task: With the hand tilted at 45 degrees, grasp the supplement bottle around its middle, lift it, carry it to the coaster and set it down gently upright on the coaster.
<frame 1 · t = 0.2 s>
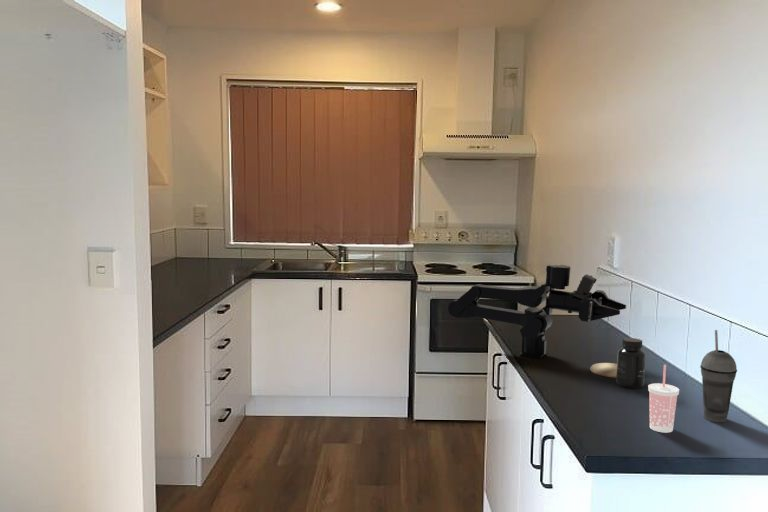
hand: (622, 309, 178), 17 cm above the worktop, tool horizontal, fingers open, 9 cm apart
supplement bottle: (629, 385, 165), on the worktop
coaster: (612, 371, 176), on the worktop
beverage cup: (714, 419, 141), on the worktop
beverage cup 2: (661, 429, 136), on the worktop
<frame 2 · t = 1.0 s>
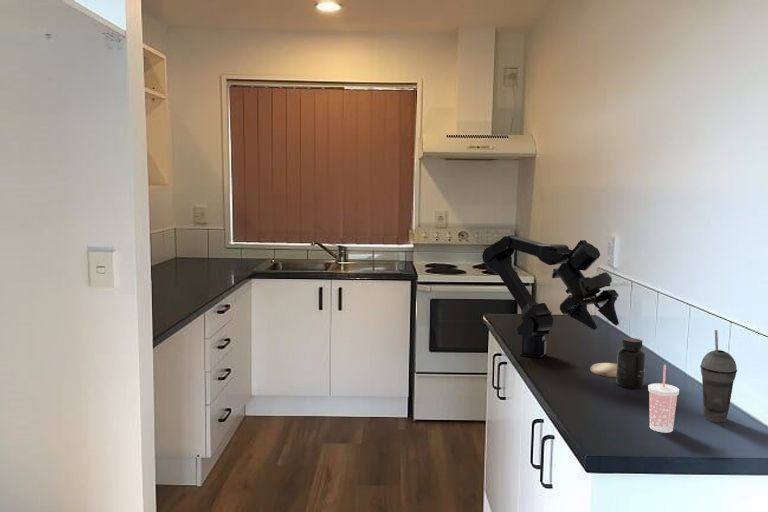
hand: (606, 326, 170), 14 cm above the worktop, tool tilted 45°, fingers open, 9 cm apart
nothing on the worktop moved.
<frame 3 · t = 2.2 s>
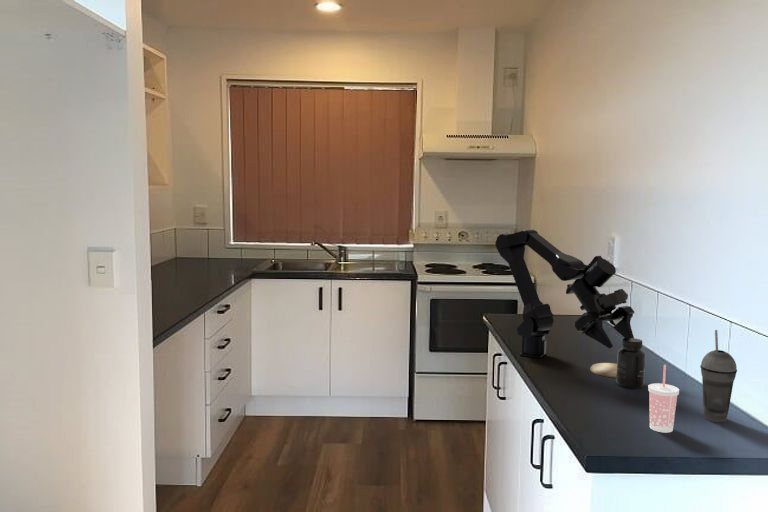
hand: (622, 345, 166), 10 cm above the worktop, tool tilted 45°, fingers open, 9 cm apart
nothing on the worktop moved.
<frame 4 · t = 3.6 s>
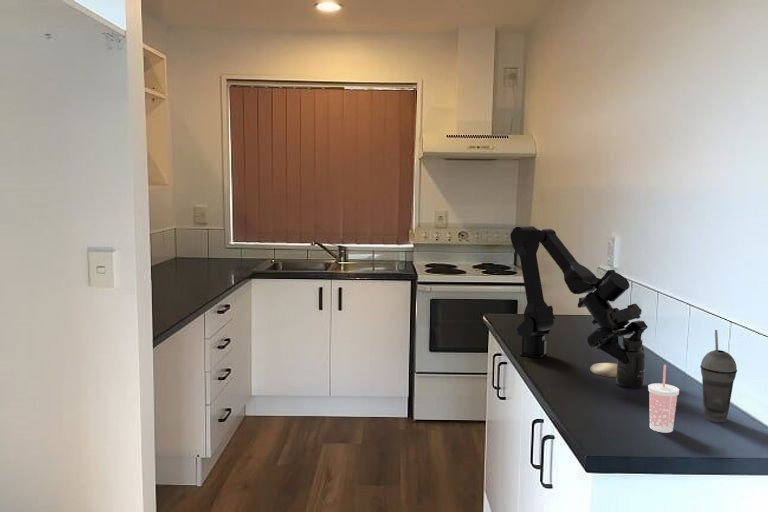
hand: (636, 361, 163), 7 cm above the worktop, tool tilted 45°, fingers closed on supplement bottle, 7 cm apart
supplement bottle: (629, 385, 165), on the worktop, touching gripper
everything else where it was.
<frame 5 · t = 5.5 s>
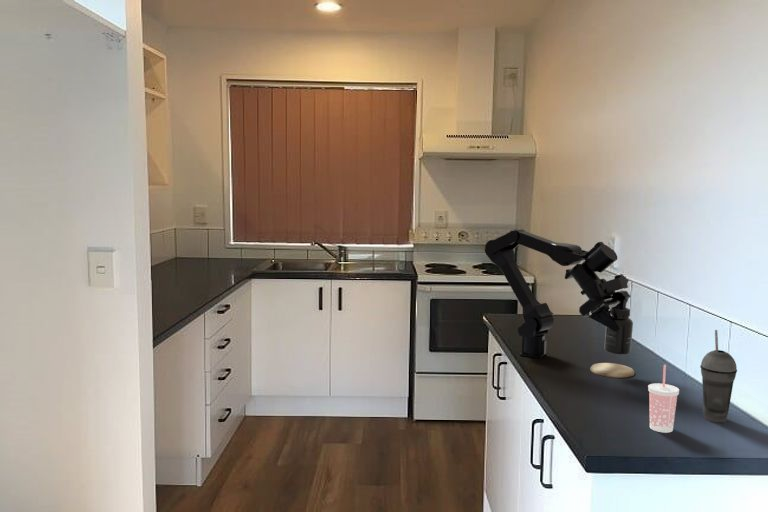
hand: (623, 328, 171), 13 cm above the worktop, tool tilted 45°, fingers closed on supplement bottle, 7 cm apart
supplement bottle: (617, 352, 173), point 6 cm above the worktop, touching gripper
everything else where it was.
when the fingers open (8 cm above the worktop, at t = 7.5 s): supplement bottle stays where it is, resting on coaster.
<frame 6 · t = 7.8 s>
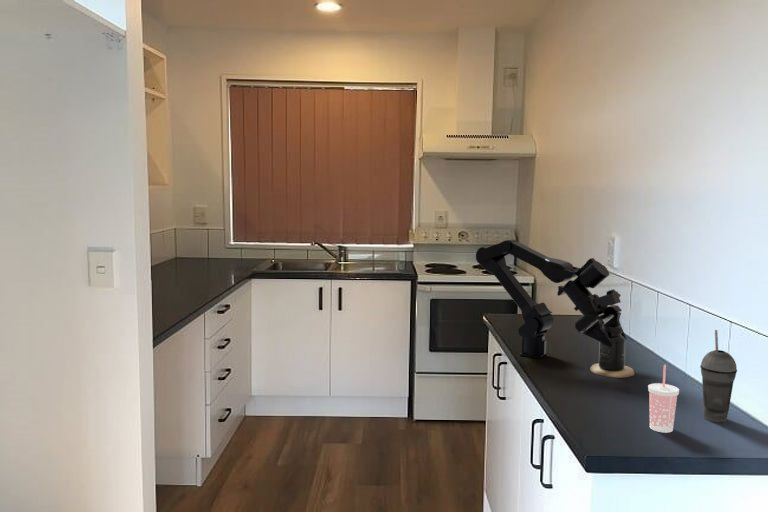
hand: (618, 342, 175), 8 cm above the worktop, tool tilted 45°, fingers open, 9 cm apart
supplement bottle: (611, 368, 177), point 1 cm above the worktop, touching coaster
everything else where it was.
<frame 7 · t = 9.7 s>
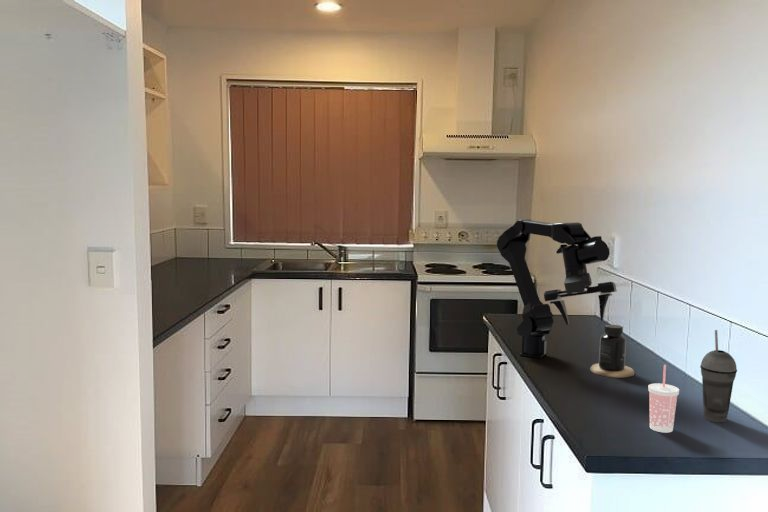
hand: (584, 322, 174), 14 cm above the worktop, tool tilted 15°, fingers open, 9 cm apart
nothing on the worktop moved.
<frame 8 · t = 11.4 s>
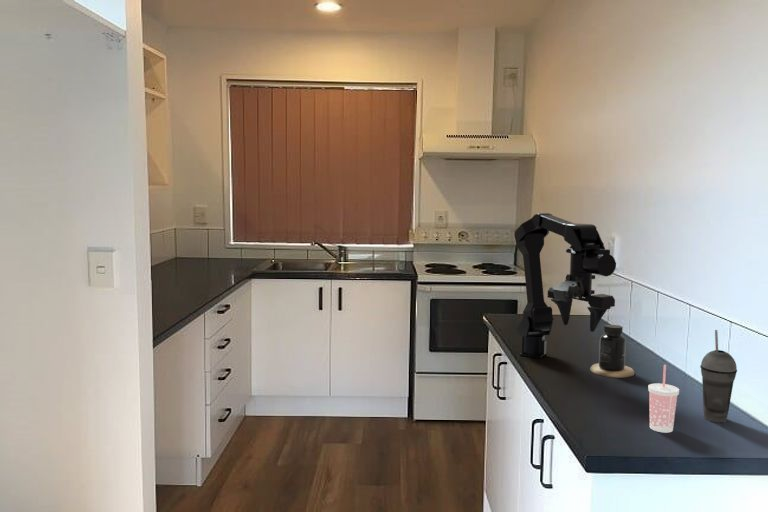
hand: (578, 328, 172), 13 cm above the worktop, tool pointing down, fingers open, 9 cm apart
nothing on the worktop moved.
at the end: supplement bottle 0.2 cm from the coaster (horizontally); supplement bottle tilted 0°; the gripper is holding nothing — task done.
